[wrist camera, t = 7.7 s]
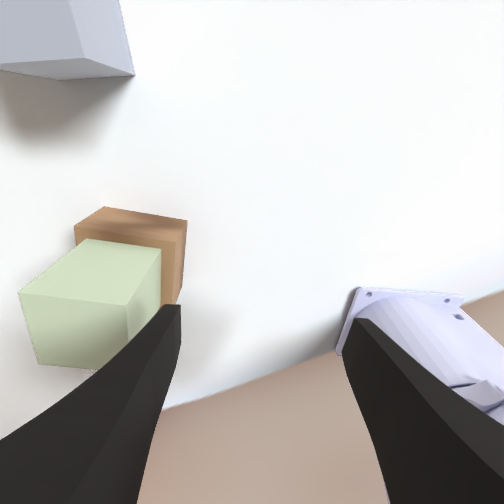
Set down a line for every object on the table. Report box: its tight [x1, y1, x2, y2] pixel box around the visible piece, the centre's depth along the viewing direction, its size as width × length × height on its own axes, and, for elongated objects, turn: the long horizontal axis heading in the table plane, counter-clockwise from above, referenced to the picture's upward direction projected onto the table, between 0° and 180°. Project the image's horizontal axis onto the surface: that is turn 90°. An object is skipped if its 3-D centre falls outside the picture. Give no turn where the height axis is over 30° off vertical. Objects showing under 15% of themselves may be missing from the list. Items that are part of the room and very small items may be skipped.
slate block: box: [0, 0, 135, 80], centre depth 12 cm, size 4×4×6 cm
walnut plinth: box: [74, 206, 187, 310], centre depth 19 cm, size 6×6×4 cm
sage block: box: [18, 238, 161, 370], centre depth 15 cm, size 4×4×6 cm
